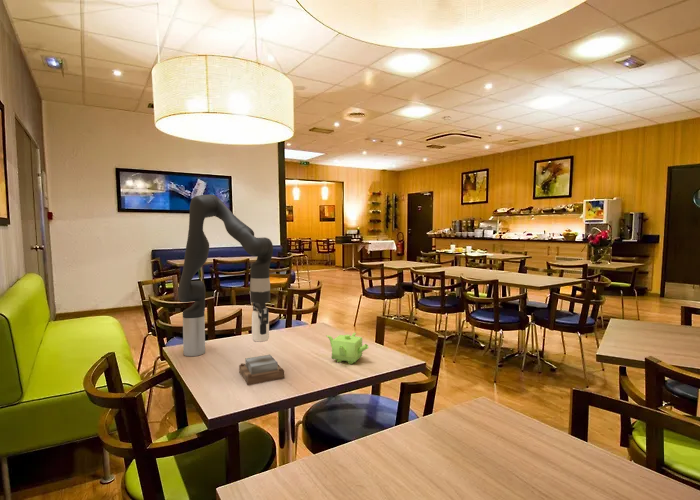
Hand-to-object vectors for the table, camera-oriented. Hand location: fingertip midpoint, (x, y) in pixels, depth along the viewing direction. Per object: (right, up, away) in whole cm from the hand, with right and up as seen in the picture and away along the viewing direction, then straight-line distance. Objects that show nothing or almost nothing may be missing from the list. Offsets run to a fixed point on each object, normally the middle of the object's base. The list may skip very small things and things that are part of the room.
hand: (260, 331), depth 149 cm
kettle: (+34, -17, +19) cm, 42 cm away
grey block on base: (0, -17, +1) cm, 17 cm away
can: (0, -3, 0) cm, 3 cm away
